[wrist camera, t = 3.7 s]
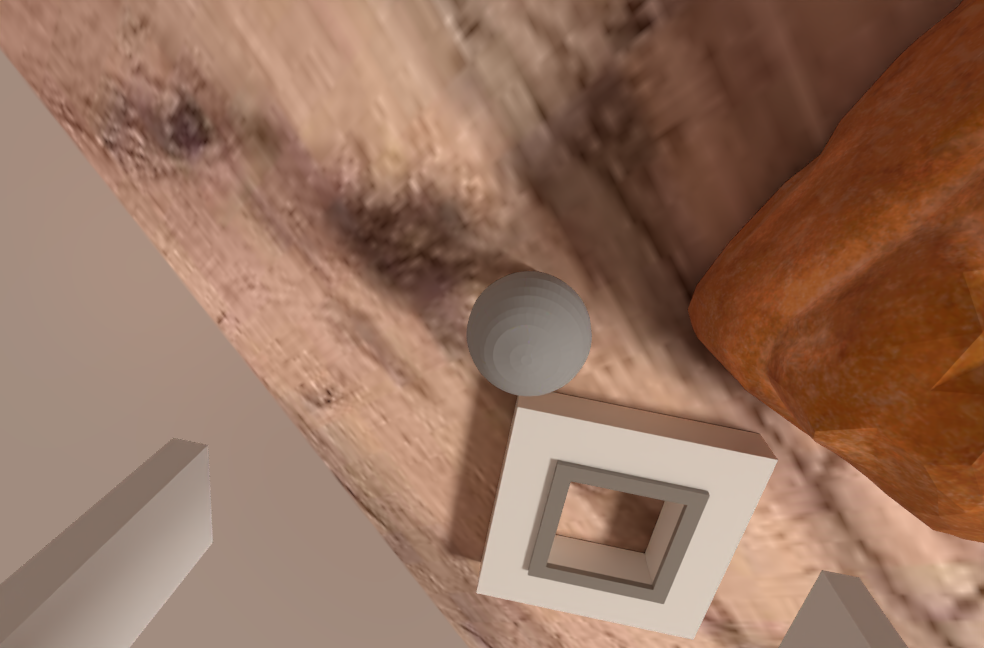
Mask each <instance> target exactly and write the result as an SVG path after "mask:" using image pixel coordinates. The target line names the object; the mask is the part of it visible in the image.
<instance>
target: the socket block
mask: <svg viewBox="0 0 984 648" xmlns="http://www.w3.org/2000/svg"><path fill="white" fill-rule="evenodd" d="M777 461H778V459H777V458H776V456H775V455H774V454H773V452H772V451H771V449H770V448H769V446H768V445H767V443H766V442H765V440H764V439H763V438H762V436H761V435H760V434H757V433H752V432H747V431H742V430H737V429H732V428H727V427H722V426H717V425H713V424H708V423H703V422H698V421H693V420H688V419H683V418H678V417H673V416H668V415H663V414H658V413H653V412H648V411H643V410H639V409H634V408H629V407H624V406H619V405H614V404H609V403H604V402H599V401H594V400H589V399H584V398H579V397H574V396H569V395H564V394H560V393H555V392H550V393H547V394H544V395H539V396H519V395H518V396H517V401H516V405H515V410H514V414H513V419H512V424H511V428H510V433H509V437H508V442H507V446H506V451H505V455H504V460H503V464H502V469H501V473H500V478H499V482H498V487H497V492H496V496H495V501H494V505H493V510H492V514H491V519H490V523H489V528H488V532H487V537H486V541H485V546H484V551H483V555H482V560H481V565H480V571H479V578H478V585H477V591H476V593H479V594H483V595H488V596H493V597H497V598H502V599H507V600H511V601H516V602H520V603H525V604H530V605H534V606H539V607H544V608H548V609H553V610H558V611H562V612H567V613H572V614H576V615H581V616H585V617H590V618H595V619H599V620H604V621H609V622H613V623H618V624H623V625H627V626H632V627H637V628H641V629H646V630H650V631H655V632H660V633H664V634H669V635H674V636H678V637H683V638H688V639H692V640H694V637H695V635H696V633H697V631H698V629H699V627H700V625H701V623H702V620H703V618H704V616H705V614H706V612H707V610H708V608H709V606H710V603H711V601H712V599H713V597H714V595H715V593H716V591H717V589H718V586H719V584H720V582H721V580H722V578H723V576H724V574H725V572H726V569H727V567H728V565H729V563H730V561H731V559H732V557H733V555H734V552H735V550H736V548H737V546H738V544H739V542H740V540H741V538H742V535H743V533H744V531H745V529H746V527H747V525H748V523H749V521H750V519H751V516H752V514H753V512H754V510H755V508H756V506H757V504H758V502H759V499H760V497H761V495H762V493H763V491H764V489H765V487H766V485H767V482H768V480H769V478H770V476H771V474H772V472H773V470H774V468H775V465H776V463H777ZM571 481H572V482H577V483H582V484H587V485H592V486H597V487H601V488H606V489H611V490H616V491H621V492H625V493H630V494H635V495H640V496H645V497H650V498H654V499H659V500H664V501H665V502H664V505H663V507H662V510H661V512H660V515H659V518H658V520H657V523H656V526H655V528H654V531H653V533H652V536H651V539H650V541H649V544H648V546H647V549H646V552H645V553H640V552H635V551H630V550H626V549H621V548H616V547H611V546H607V545H602V544H597V543H592V542H588V541H583V540H578V539H574V538H569V537H564V536H559V535H555V534H556V530H557V527H558V523H559V520H560V516H561V513H562V509H563V506H564V503H565V499H566V496H567V492H568V489H569V485H570V482H571Z"/></svg>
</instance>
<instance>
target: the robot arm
mask: <svg viewBox="0 0 984 648" xmlns="http://www.w3.org/2000/svg"><path fill="white" fill-rule="evenodd" d="M210 497H211V496H210V475H209V453H208V445H206V444H200V443H196V442H191V441H186V440H181V439H176V438H173V439H172V440H170V441H169V442H168V443H167V444H165V445H164V446H163V447H162V448H161V449H160V450H158V451H157V452H156V453H155V454H154V455H153V456H151V457H150V458H149V459H148V460H147V461H146V462H144V463H143V464H142V465H141V466H140V467H138V468H137V469H136V470H135V471H134V472H132V473H131V474H130V475H129V476H128V477H127V478H125V479H124V480H123V481H122V482H121V483H119V484H118V485H117V486H116V487H115V488H114V489H112V490H111V491H110V492H109V493H108V494H107V495H105V496H104V497H103V498H102V499H101V500H99V501H98V502H97V503H96V504H95V505H94V506H92V507H91V508H90V509H89V510H88V511H86V512H85V513H84V514H83V515H82V516H81V517H79V518H78V519H77V520H76V521H75V522H73V523H72V524H71V525H70V526H69V527H68V528H66V529H65V530H64V531H63V532H62V533H61V534H59V535H58V536H57V537H56V538H55V539H53V540H52V541H51V542H50V543H49V544H48V545H46V546H45V547H44V548H43V549H42V550H40V551H39V552H38V553H37V554H36V555H35V556H33V557H32V558H31V559H30V560H29V561H27V562H26V563H25V564H24V565H23V566H22V567H20V568H19V569H18V570H17V571H16V572H14V573H13V574H12V575H11V576H10V577H9V578H7V579H6V580H5V581H4V582H3V583H1V584H0V648H130V646H131V645H132V644H133V643H134V641H135V640H136V639H137V637H138V636H139V635H140V634H141V632H142V631H143V630H144V629H145V627H146V626H147V625H148V624H149V622H150V621H151V620H152V618H153V617H154V616H155V615H156V613H157V612H158V611H159V610H160V608H161V607H162V606H163V605H164V603H165V602H166V601H167V600H168V598H169V597H170V596H171V594H172V593H173V592H174V591H175V589H176V588H177V587H178V586H179V584H180V583H181V582H182V580H183V579H184V578H185V577H186V575H187V574H188V573H189V572H190V570H191V569H192V568H193V567H194V565H195V564H196V563H197V562H198V560H199V559H200V558H201V556H202V555H203V554H204V553H205V551H206V550H207V549H208V547H209V546H210V545H211V544H212V543H213V540H212V520H211V519H212V518H211V498H210ZM778 648H908V647H907V645H906V644H905V643H904V641H903V640H902V638H901V637H900V635H899V634H898V633H897V631H896V630H895V628H894V627H893V625H892V624H891V623H890V621H889V620H888V618H887V617H886V615H885V614H884V613H883V611H882V610H881V608H880V607H879V605H878V604H877V603H876V601H875V600H874V598H873V597H872V595H871V594H870V593H869V591H868V590H867V588H866V587H865V585H864V584H863V583H862V581H861V580H860V578H858V577H854V576H849V575H844V574H839V573H834V572H829V571H824V570H822V571H821V573H820V575H819V577H818V578H817V580H816V582H815V584H814V585H813V587H812V589H811V591H810V592H809V594H808V596H807V598H806V600H805V601H804V603H803V605H802V607H801V608H800V610H799V612H798V614H797V616H796V617H795V619H794V621H793V623H792V624H791V626H790V628H789V630H788V631H787V633H786V635H785V637H784V639H783V640H782V642H781V644H780V646H779V647H778Z"/></svg>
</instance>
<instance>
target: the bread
mask: <svg viewBox="0 0 984 648" xmlns="http://www.w3.org/2000/svg"><path fill="white" fill-rule="evenodd" d="M688 313H689V316H690V320H691V324H692V328H693V330H694V332H695V334H696V336H697V338H698V339H699V340H700V341H701V342H702V343H703V344H704V345H705V346H706V348H707V349H708V350H709V351H710V352H711V353H712V354H713V355H714V356H715V357H716V358H717V360H718V361H719V362H720V363H721V364H722V365H723V366H724V367H725V368H726V369H727V370H728V371H729V372H730V373H731V374H732V375H733V376H734V378H735V379H737V380H738V381H739V382H740V384H741V385H742V386H743V387H744V389H745V390H747V391H748V392H749V393H751V394H752V395H753V396H755V397H756V398H758V399H759V400H760V401H762V402H763V403H764V404H766V405H767V406H769V407H770V408H771V409H773V410H774V411H776V412H777V413H778V414H780V415H781V416H782V417H784V418H785V419H787V420H788V421H789V422H791V423H792V424H793V425H795V426H796V427H798V428H799V429H800V430H802V431H803V432H805V433H806V434H808V435H809V436H810V437H811V438H812V439H813V440H814V441H815V442H817V443H818V444H820V445H822V446H824V447H825V448H827V449H829V450H831V451H832V452H834V453H835V454H837V455H838V456H840V457H841V458H843V459H844V460H846V461H847V462H848V463H850V464H851V465H852V466H853V467H855V468H856V469H857V470H859V471H860V472H861V473H862V474H864V475H865V476H866V477H868V478H869V479H870V480H871V481H872V482H873V483H874V484H875V485H877V486H878V487H879V488H880V489H881V490H882V491H883V492H885V493H886V494H887V495H888V496H889V497H891V498H892V499H893V500H895V501H896V502H897V503H899V504H900V505H901V506H902V507H904V508H905V509H906V510H908V511H909V512H910V513H912V514H913V515H914V516H916V517H917V518H918V519H919V520H921V521H922V522H923V523H925V524H926V525H927V526H929V527H930V528H931V529H933V530H935V531H939V532H943V533H948V534H951V535H954V536H957V537H959V538H962V539H966V540H972V541H977V542H983V543H984V0H963V1H962V2H961V3H960V5H959V6H958V7H957V8H956V9H954V10H953V11H952V12H951V13H949V14H948V15H947V16H946V17H944V18H943V19H942V20H941V21H939V22H938V23H937V24H936V25H934V26H933V27H932V28H931V29H929V30H928V31H927V32H926V33H924V34H923V35H922V36H921V37H919V38H918V39H917V40H916V41H915V42H914V43H913V44H912V45H911V46H909V47H908V48H907V49H906V50H905V51H904V52H903V53H902V54H901V55H900V56H899V57H898V58H897V59H896V60H895V61H894V62H893V63H892V64H891V65H890V67H889V68H888V69H887V70H886V71H885V72H884V73H883V74H882V75H881V77H880V78H879V79H878V80H877V81H876V82H875V83H874V84H873V85H872V86H871V88H870V89H869V90H868V91H867V92H866V93H865V94H864V95H863V96H862V98H861V99H860V100H859V101H858V102H857V103H856V104H855V105H854V106H853V107H852V109H851V110H850V111H849V112H848V113H847V114H846V115H845V116H844V117H843V119H842V120H841V121H840V122H839V124H838V126H837V127H836V129H835V131H834V132H833V134H832V136H831V138H830V139H829V141H828V143H827V145H826V146H825V148H824V150H823V151H822V153H821V155H819V156H818V157H817V158H816V159H814V160H813V161H812V162H811V163H809V164H808V165H807V166H806V167H804V168H803V169H802V170H801V171H799V172H798V173H797V174H796V175H794V176H793V177H792V178H791V179H789V180H788V181H787V182H785V183H784V184H783V186H782V187H781V188H780V189H779V190H778V191H777V192H776V193H775V194H774V195H773V196H772V197H771V198H770V199H769V201H768V202H767V203H766V204H765V205H764V206H763V207H762V208H761V209H760V210H759V211H758V212H757V213H756V214H755V216H754V217H753V218H752V219H751V220H750V221H749V222H748V223H747V224H746V225H745V226H744V227H743V228H742V229H741V230H740V232H739V233H738V234H737V235H736V236H735V237H734V238H733V239H732V240H731V241H730V242H729V243H728V245H727V246H726V247H725V249H724V250H723V251H722V253H721V254H720V255H719V256H718V258H717V259H716V260H715V262H714V263H713V264H712V266H711V267H710V268H709V270H708V271H707V272H706V274H705V275H704V276H703V278H702V279H701V280H700V282H699V283H698V284H697V286H696V288H695V291H694V294H693V297H692V299H691V302H690V305H689V308H688Z"/></svg>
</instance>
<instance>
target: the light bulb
mask: <svg viewBox="0 0 984 648" xmlns="http://www.w3.org/2000/svg"><path fill="white" fill-rule="evenodd" d="M591 340H592V333H591V324H590V318H589V314H588V311H587V309H586V306H585V305H584V303H583V301H582V299H581V298H580V297H579V295H578V294H577V293H576V292H575V291H574V290H573V289H572V288H571V287H570V286H568V285H567V284H566V283H564V282H563V281H561V280H560V279H558V278H556V277H554V276H552V275H549V274H546V273H542V272H536V271H523V272H517V273H513V274H510V275H507V276H505V277H503V278H501V279H499V280H497V281H495V282H494V283H492V284H491V285H490V286H488V287H487V288H486V289H485V290H484V291H483V292H482V293H481V295H480V296H479V297H478V299H477V300H476V302H475V304H474V306H473V308H472V311H471V314H470V317H469V321H468V325H467V344H468V348H469V352H470V354H471V357H472V359H473V361H474V363H475V365H476V367H477V368H478V370H479V371H480V373H481V374H482V375H483V376H484V377H485V378H486V379H487V380H488V381H489V382H490V383H492V384H493V385H495V386H496V387H498V388H499V389H501V390H503V391H505V392H508V393H511V394H514V395H519V396H539V395H544V394H547V393H550V392H553V391H555V390H557V389H559V388H561V387H563V386H564V385H566V384H567V383H568V382H570V381H571V380H572V379H573V378H574V377H575V376H576V374H577V373H578V372H579V370H580V369H581V368H582V366H583V365H584V363H585V361H586V359H587V357H588V354H589V351H590V347H591Z"/></svg>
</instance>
